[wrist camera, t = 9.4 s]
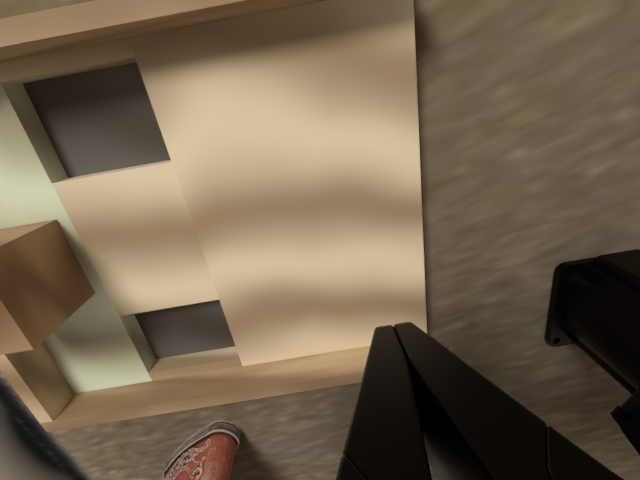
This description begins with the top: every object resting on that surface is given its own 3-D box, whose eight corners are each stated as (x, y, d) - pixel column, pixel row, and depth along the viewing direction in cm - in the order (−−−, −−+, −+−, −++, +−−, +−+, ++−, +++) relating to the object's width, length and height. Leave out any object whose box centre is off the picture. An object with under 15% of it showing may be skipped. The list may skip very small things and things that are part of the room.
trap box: (419, 330, 22) (439, 369, 19) (83, 385, 23) (46, 432, 20) (401, -27, 14) (429, -65, 11) (-115, 71, 15) (-232, 63, 12)
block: (95, 293, 18) (33, 349, 14) (18, 306, 18) (-65, 365, 14) (56, 219, 16) (-28, 258, 12) (-29, 233, 16) (-140, 278, 12)
